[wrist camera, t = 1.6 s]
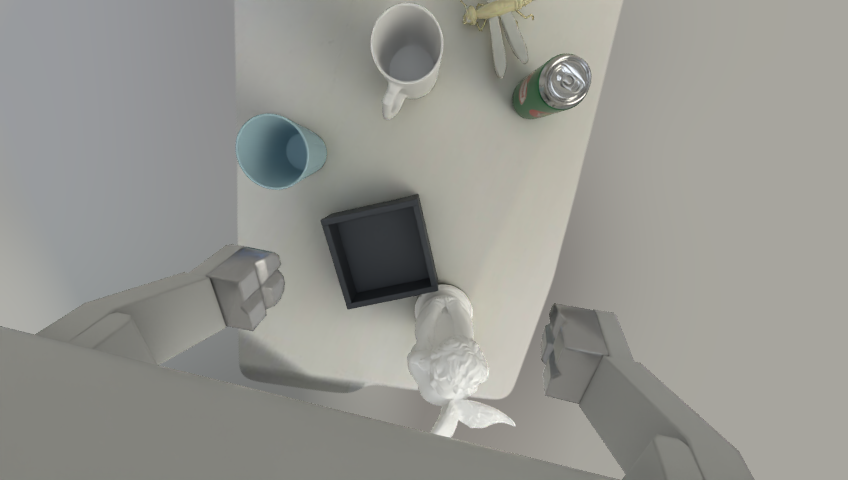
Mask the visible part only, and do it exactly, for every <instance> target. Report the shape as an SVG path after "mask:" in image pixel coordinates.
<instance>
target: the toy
mask: <svg viewBox="0 0 848 480" xmlns="http://www.w3.org/2000/svg"><path fill="white" fill-rule="evenodd" d="M532 1H534V0H487V4H485V5H484V4H479V3H478V5H477V7H476V10H475V8H474V7H473V6H470V7H468V8H467V9H466V11H465V14H464V16H463V19H464V20H463V21H465V22H464V24H467V23H468V24H470V25H474V24H475V23H476V25H477V26H478V29H479V31H482V29H483V27H484V26H485V23H486V21H487V19H489V24H490V32H491V40H492V49H493V59H494V67H495V72H496V74H497V76H498V78H503V77H504V74H505V71H506V66H507V65H506V56H505V48H504V43H503V38H502V33H501V29H500V24H499V17H500V19H501V21H502V25H503V28H504V32H505V35H506V38H507V40H508V42H509V45H510V47H511V49H512V51H513V53H514V54H515V56H516V57H517V58H518V59H520V61H521V62H522V63H523V64H526V63H527V62H528V52H527V47H526V44H525V42H524V40H523V38H522V35H521V33H520V31H519V28H518V24H517V23H518V22H517V21H515V19H514V16H513V14H512V11H516V12H518V13H519V14H520V15H521V16H522V17H524V19H527V18H529V17H530V16H532V20H534V16H533V15H532V14H530V15H529V16H527V17H525V16H524V15H523V14H522V13H521V12H520V11H518V9H521V8H522V7H523V6H526V5H527V4H529V3H530V2H532ZM460 2H463V1H461V0H460ZM463 4H464V3H463ZM465 5H466V4H464V6H465ZM466 6H467V5H466ZM478 6H482V7H480V8H479V9H478ZM465 8H466V7H465ZM477 18H479V19H485V21H484V24H483V26H482V27H481V29H480V27H479V24H478V22H476V19H477Z"/></svg>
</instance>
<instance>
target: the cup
mask: <svg viewBox="0 0 848 480" xmlns="http://www.w3.org/2000/svg"><path fill="white" fill-rule="evenodd" d="M236 156H237V160H238V162H239V165H240V167H241V169H242V170H243V172H244V173H245V174H246V176H247V177H248V178H249V179H250V180H252V181H253V182H254V183H256V184H258V185H259V186H262V187H264V188H268V189H274V190H280V189H285V188H289V187H291V186H293V185H295V184H296V183H298V182H300V181H301V180H302V179H304V178H306V177H307V176H309V175H311V174H313V173H314V172H316V171H317V170H319V169H320V168H321V167H322V166H323V164H324V163H325V161H326V156H327V150H326V147H325V144H324V142H323V140H322V139H321V138H320V137H319V136H318V135H317V134H315V133H314V132H312V131H310V130H308V129H306V128H304V127H302V126H301V125H299V124H297V123H295V122H293V121H291V120H289V119H287V118H285V117H283V116H280V115H277V114H260V115H257V116H254V117H253V118H251V119H249V120H248V121H247V122H246V123H245V124H244V125H243V126H242V128H241V129H240V131H239V133H238V135H237V139H236Z"/></svg>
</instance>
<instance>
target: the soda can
mask: <svg viewBox="0 0 848 480" xmlns="http://www.w3.org/2000/svg"><path fill="white" fill-rule="evenodd" d="M590 84H591V71H590V68H589V66H588V64H587V63H586V62H585V61H584V60H583V59H582V58H580V57H578V56H576V55H573V54H560V55H557V56H555V57H553V58H551V59H550V60H549V61H547V62H546V63H545V64H543V65H542V66H541V67H539V68H538V69H537V70H535V71H534V72H533V73H531V74H530V75H529V76H527V77H526V78H525V79H523V80H522V81H521V82H520V83H519V84H518V85H517V86H516V88H515V90H514V93H513V99H512V101H513V106H514V109H515V111H516V112H517V113H518V114H519V115H520V116H521V117H523V118H526V119H537V118H540V117H544V116H547V115H551V114H554V113H557V112H561V111H564V110H568V109H570V108H573V107H575V106H576V105H578V104H579V103H580V102H581V101H582V100H583V99H584V97H585V96H586V94H587V92H588V90H589V87H590Z"/></svg>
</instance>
